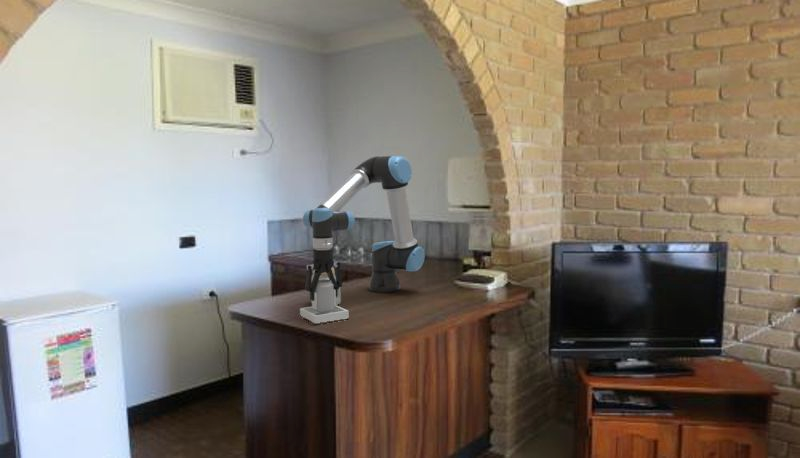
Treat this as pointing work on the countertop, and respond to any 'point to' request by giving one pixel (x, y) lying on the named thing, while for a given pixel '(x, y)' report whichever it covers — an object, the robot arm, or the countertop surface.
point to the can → (325, 296)
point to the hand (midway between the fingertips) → (324, 306)
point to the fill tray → (324, 314)
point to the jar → (325, 277)
